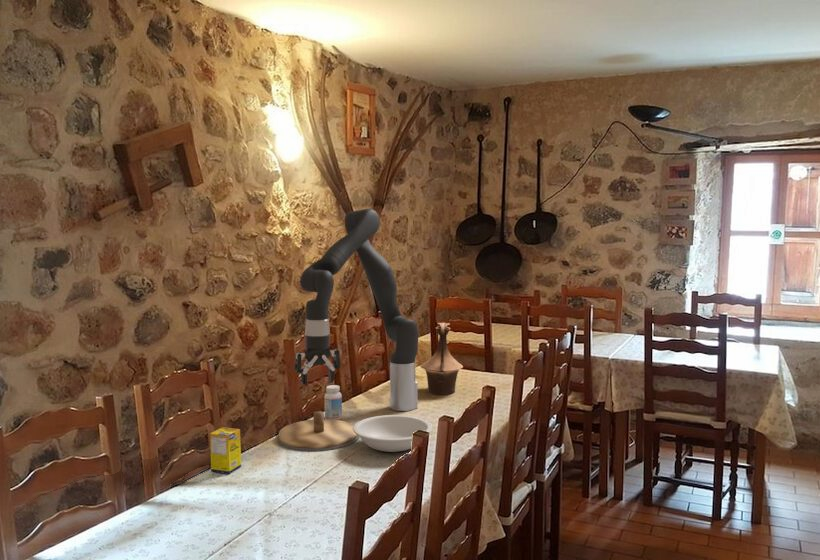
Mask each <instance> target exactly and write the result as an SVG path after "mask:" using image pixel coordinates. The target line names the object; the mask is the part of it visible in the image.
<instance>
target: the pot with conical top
mask: <svg viewBox="0 0 820 560" xmlns="http://www.w3.org/2000/svg"><path fill="white" fill-rule="evenodd" d="M437 325H438V326H436V327H435V330H436V333H437V334H438V336H439V337H438V345H437V349H436V351H435V353H434V354H433V355H432V356H431V357H430V358H429V359H428V360H426V361H425V362H423V363H421V365H420V368H422V369H423V370H424V371H425V373H426V380H427V392H428V393H430V394H433V395H434V394H435V395H451V394H454V393H455V392H456V383H457V378H458V374H459V371H460V370H461V369H463V368H464V366H463V365H462V364H461V363H460V362H458V360H457V359H455V358H454V357H453V356H452V354H451V352H450V351H449V347H448V341H447V340H448V339H447V336H448V334H449V332H450V330H451V327H449V326H450V325H451V323H450V322H437Z"/></svg>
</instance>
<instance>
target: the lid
mask: <svg viewBox="0 0 820 560" xmlns="http://www.w3.org/2000/svg"><path fill="white" fill-rule="evenodd" d="M354 425H355V423H351V422H348V421H345V420H341V419H339V420H333V419H325V411H321V410H319V411H314V412H313V419H307V420H302V421H297V422H293V423H290V424H288V425H285V426H284V427H282V428H281V429H280V430H279V431H278V434H279V440H280V441H281V442H282V443H284V444H286V445H289V446H293V447H298V448H310V449H317V448H329V447H335V446H340V445H343V444H346V443H349V442H351V441H353V440H354V439H356V438H357V436H358V435H357V434H355V433H354V431H353V426H354Z"/></svg>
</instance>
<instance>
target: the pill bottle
mask: <svg viewBox="0 0 820 560" xmlns="http://www.w3.org/2000/svg"><path fill="white" fill-rule="evenodd" d="M340 390H341V387H340V385H337V384H330V385H327V386H326V388H325V391H326V393H325V394H324V397H323V398H324V400H323V401H324V419H333V420H341V419H342V418H343V401H342V400H343V395H342V393H341V392H340Z"/></svg>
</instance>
